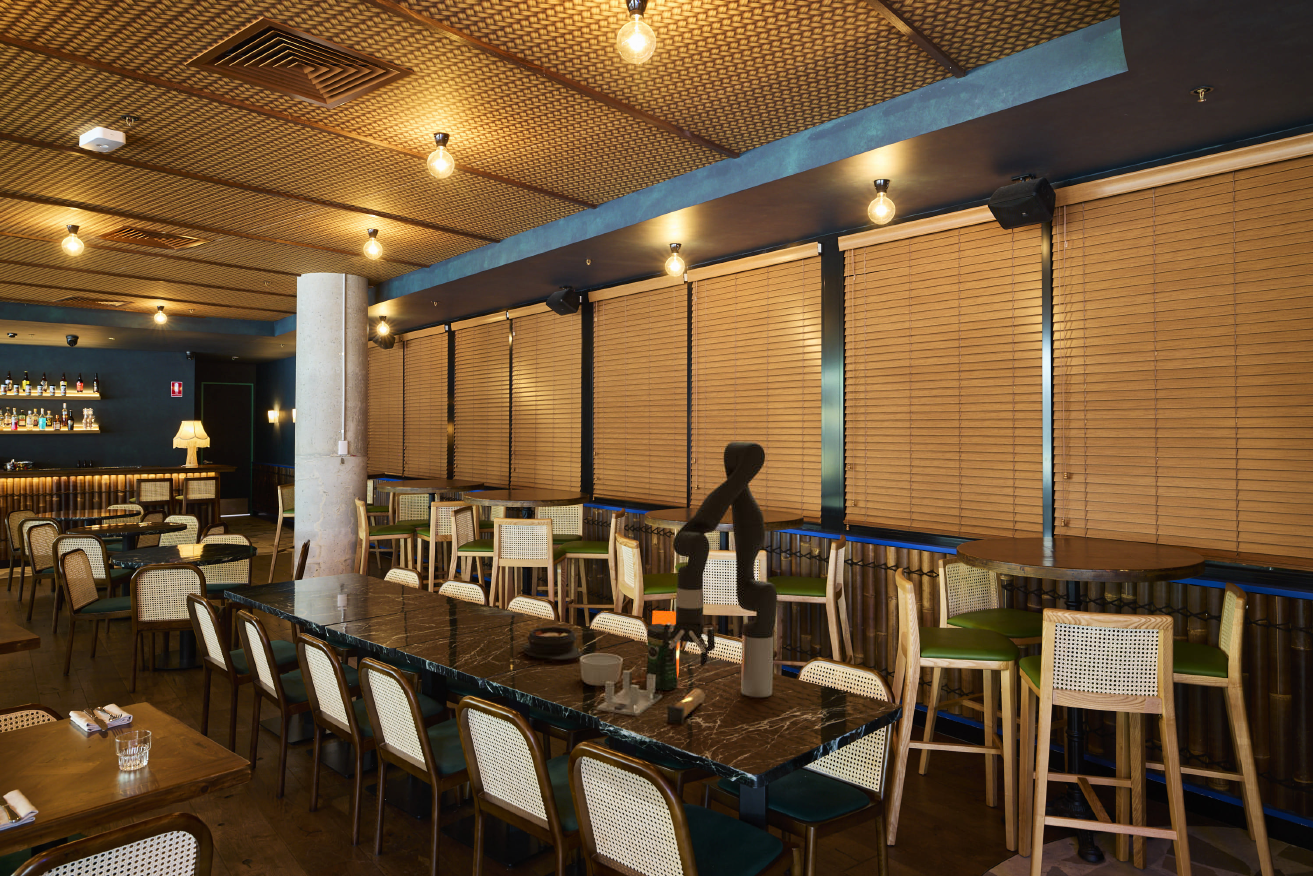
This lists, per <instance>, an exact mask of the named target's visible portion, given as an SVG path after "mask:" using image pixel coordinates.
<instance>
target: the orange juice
mask: <svg viewBox="0 0 1313 876" xmlns="http://www.w3.org/2000/svg"><path fill="white" fill-rule="evenodd" d="M651 621H652V622H651V624H659V623H661V624H663V625H665V624H667V623H671V624H674V625H675V623H676V611H673V610H671V611H670V610H669V611H665V610H652V620H651ZM676 658H677V679H678V678H679V671H680V669H679V668H680V642H679V643H678V644H677V651H676Z"/></svg>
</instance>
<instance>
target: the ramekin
mask: <svg viewBox="0 0 1313 876" xmlns="http://www.w3.org/2000/svg"><path fill="white" fill-rule="evenodd" d="M579 664H580V675H581V679H582V681H583V682H584V683H586V685H591V686H597V687H599V686H601V687H605V683H606V682H607V681H610V682H614V685H615V684H617V683H618V681H619V680H620V679H621V678H620V677H621V671H622V665H623V658H622V657H621V656H619V655H616V654H611V653H606V652H605V653H604V652H601V653H600V652H597V653H596V652H595V653H589V654H585V655H584V654H583V655H582V656H580V657H579Z"/></svg>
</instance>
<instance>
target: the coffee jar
mask: <svg viewBox="0 0 1313 876" xmlns="http://www.w3.org/2000/svg"><path fill="white" fill-rule="evenodd" d="M663 636H664V625H663V624H661V623H659V624H652V623H651V624H649V626H648V627H647V633H646V640H647V660H646V661H647V662H646V671H645V674H646V675H645V683H646V685H647V675H648V674H655V690H666V691H668V690H672V689H674V688H676V687H677V686H678V678H677V658H676V662H674V663H672V662H671V660H670V658H669V655H670V649H669V647H667V646H664V645H663ZM676 636H677V633H676V632H675V630H674V629H673V631H671V636H670V641H671V642H672V641H673V640H674V638H675V637H676ZM675 648H677V645H676V647H675Z"/></svg>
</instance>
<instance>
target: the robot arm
mask: <svg viewBox="0 0 1313 876" xmlns="http://www.w3.org/2000/svg"><path fill="white" fill-rule="evenodd" d="M765 460H766V451H765V450H764V447H763V446H762V445H761V444H760V443H757V442H752V441H731V442H729V443H728V444H726V447H725V448H724V451H723V465H724V470H725V476H726V480H724V481H723V482H722V483H721V484H720V485H718V486H717V487H716V488H714V489H713V490H712V491H711V492H710V493H709V494H708V495H707V496H706V497H705V498H704V500H703V501H702V503H701V504H700V506H699V507H698V509H697V511H696V512H695V514H694V515H693V516H692V517H691V518H690V519H688V521H687V522H686V523H684V524H683V526H682V527H680V529H679V530H678V531H677V533H676V534H675V536H674V539H673V543H672V546H673V550H674V552H675V553H676V554H677V555H678V556H680V557H681V556H682V557H687V561H686V565H683V566H680V567H679V568H678V570H677V583H676V584H677V587H676V589H677V590H676V594H675V596H676V597H675V612H676V623H675V625H674V624H671V623H667V624H665V625H664V636H663V645H664V646H667V647H669V649H670V655H669V658H670V660H671V662H672V663H674V662H676V651H677V648H675V647H676V645H677V644H678V643H679V644H680V642H683V643H686V642H688V643H690V644H691V643H692V644H693V643H695V645H696V646H697V647H698V649H700V651H701V652H700V667H705V666H706V664H708V661H709V659H708V657H709V652H712V651H713V650H714V649H715V648H716V646H715V645H716V644H715V642H716V641H715V628H714V627H712V626H711V627H704V590H703V589H704V572H705V568H706V566H707V562H708V557H709V555H710V541H709V538H708V537H707V535H706V534H709V533H712V532H715V530H716V529H717V528H718V526H719V524H720V523H721V521H722V520H723V518H724V516H725V514H726V512H727V511H728V510H729V508H730V507H731V516H732V517H731V519H732V530H733V539H734V546H735V561H736V564H735V565H736V599H737V603H738V605H739V607H740V608H741V609H742V610H745V611H750V612H755V613H756V615H755V620H752V621H749V622H746V623H744V624H742V629H741V668H740V669H741V671H740V672H741V676H740V677H741V678H740V693H741V694H742V695H743V696H747V697H752V698H766V697H770V696H771V695H773V673H774V671H773V669H774V667H773V666H774V665H773V663H774V660H773V659H774V630H775V627H776V619H777V607H778V606H777V605H778V604H777V603H778V593H777V589H776V586H775V585H774V584H773V583H772V582H769V581H763V580H758V579H757V580H756V578H755V562H756V559H757V556H758V554H759V553H760V552H761V549H762V547H763V544H764V542H765V538H766V532H765V531H766V530H765V519H764V515H763V512H762V510H761V507H760V506H759V503H758V502H757V500H756V499H755V497H754V496H753V493H752V491H751V489H750V486H749V484H750V483H751V481H752V480H753V479H755V477H756V476H757V475H758V474H759V472H760V471H761V470H762V468H763V466H764V464H765ZM673 629H674V630H675V632H676V633H677V636H676V637H675V638H674V640H673V641H672V642H671V641H670V636H671V631H673ZM703 634H705V636H706V637H707V644H706V641H705V639H704V637H703Z"/></svg>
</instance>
